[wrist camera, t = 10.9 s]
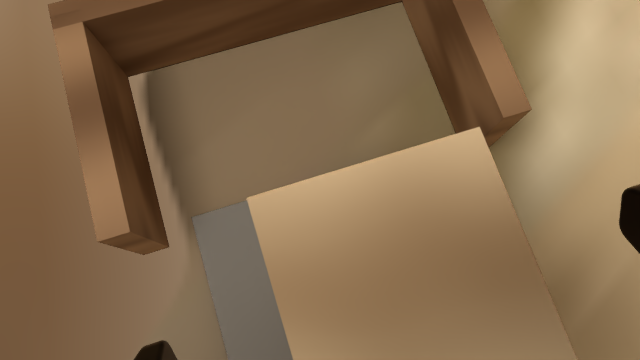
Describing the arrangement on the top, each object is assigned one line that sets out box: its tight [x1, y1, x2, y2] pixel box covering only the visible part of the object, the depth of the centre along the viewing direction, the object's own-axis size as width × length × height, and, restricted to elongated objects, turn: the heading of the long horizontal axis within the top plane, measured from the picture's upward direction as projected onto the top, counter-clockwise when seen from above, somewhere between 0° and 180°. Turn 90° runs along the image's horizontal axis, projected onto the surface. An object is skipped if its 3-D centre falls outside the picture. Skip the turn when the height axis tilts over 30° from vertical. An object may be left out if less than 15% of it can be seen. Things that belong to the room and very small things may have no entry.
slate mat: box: [192, 201, 293, 360], centre depth 22 cm, size 11×12×1 cm
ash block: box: [247, 127, 578, 360], centre depth 16 cm, size 5×5×13 cm
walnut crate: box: [48, 0, 532, 255], centre depth 22 cm, size 10×17×5 cm, turn 108°
